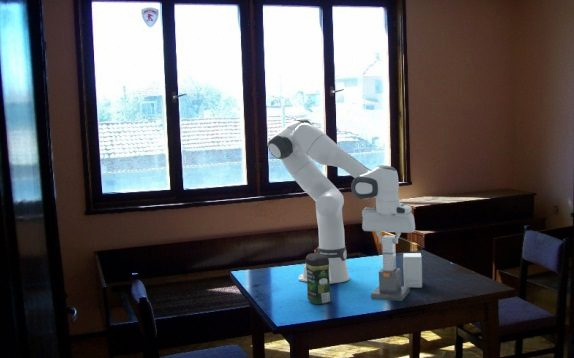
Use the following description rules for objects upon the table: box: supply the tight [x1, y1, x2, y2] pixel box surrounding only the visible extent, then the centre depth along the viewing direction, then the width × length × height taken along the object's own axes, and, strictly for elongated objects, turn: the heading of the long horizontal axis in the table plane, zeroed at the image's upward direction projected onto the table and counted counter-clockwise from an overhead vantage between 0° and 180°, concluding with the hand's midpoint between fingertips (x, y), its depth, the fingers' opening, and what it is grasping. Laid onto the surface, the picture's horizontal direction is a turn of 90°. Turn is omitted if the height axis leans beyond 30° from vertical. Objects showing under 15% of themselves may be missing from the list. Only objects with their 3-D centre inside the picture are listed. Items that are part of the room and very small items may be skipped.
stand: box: [370, 267, 411, 302], centre depth 233 cm, size 12×12×10 cm
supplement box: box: [402, 252, 423, 288], centre depth 245 cm, size 7×7×13 cm
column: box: [381, 235, 397, 272], centre depth 232 cm, size 4×4×18 cm
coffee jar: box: [305, 252, 332, 305], centre depth 230 cm, size 10×8×19 cm
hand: (388, 243), depth 232 cm, fingers open, 4 cm apart
